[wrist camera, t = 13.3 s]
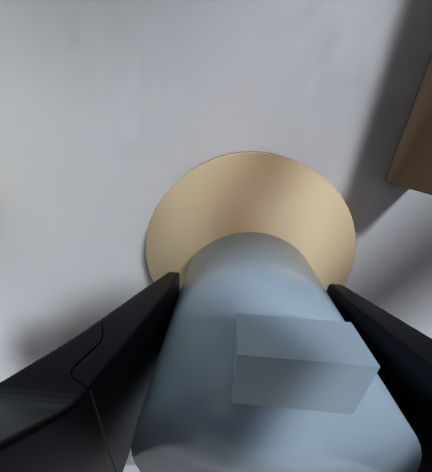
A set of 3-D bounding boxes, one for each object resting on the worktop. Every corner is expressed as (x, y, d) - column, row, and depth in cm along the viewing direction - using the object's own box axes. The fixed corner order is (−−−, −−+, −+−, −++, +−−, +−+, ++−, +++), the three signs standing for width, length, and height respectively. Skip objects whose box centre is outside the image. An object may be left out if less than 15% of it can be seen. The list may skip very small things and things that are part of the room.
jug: (333, 221, 8) (529, 379, 3) (288, 370, 12) (337, 560, 7) (182, 211, 9) (100, 342, 3) (185, 361, 13) (150, 538, 7)
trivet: (368, 157, 10) (391, 161, 8) (314, 322, 14) (324, 342, 12) (147, 145, 10) (134, 146, 9) (160, 310, 14) (153, 329, 13)
